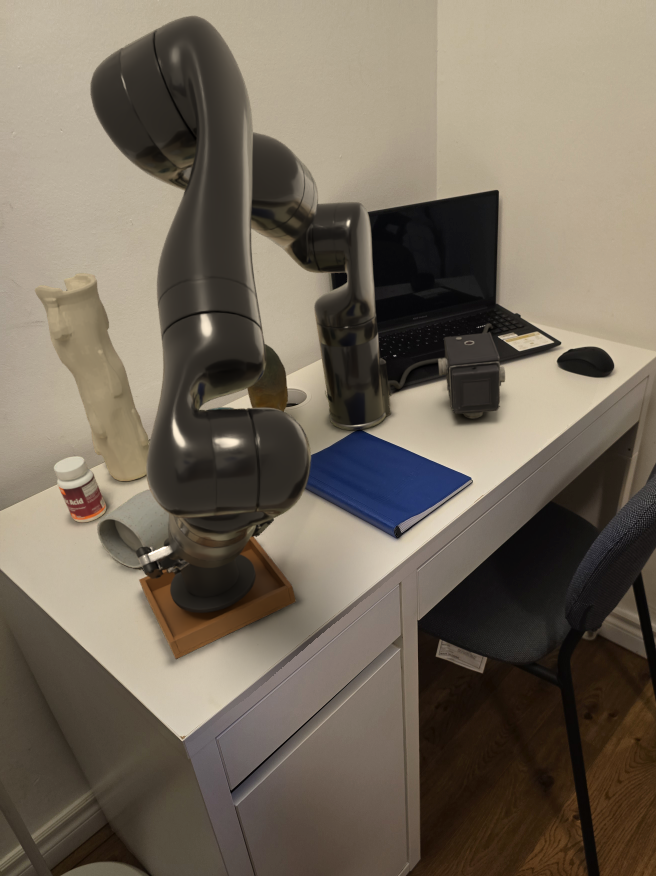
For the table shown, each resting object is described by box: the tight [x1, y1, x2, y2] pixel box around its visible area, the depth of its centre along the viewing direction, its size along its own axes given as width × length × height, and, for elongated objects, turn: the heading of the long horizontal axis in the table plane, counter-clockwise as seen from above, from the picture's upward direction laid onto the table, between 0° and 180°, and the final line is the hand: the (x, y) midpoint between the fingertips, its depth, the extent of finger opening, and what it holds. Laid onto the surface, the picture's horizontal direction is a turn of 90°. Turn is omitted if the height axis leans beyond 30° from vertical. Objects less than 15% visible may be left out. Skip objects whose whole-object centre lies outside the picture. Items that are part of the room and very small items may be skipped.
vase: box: [34, 272, 150, 482], centre depth 94 cm, size 9×8×30 cm
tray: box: [138, 536, 297, 660], centre depth 76 cm, size 14×12×2 cm
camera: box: [437, 331, 506, 419], centre depth 105 cm, size 11×11×15 cm
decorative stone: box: [246, 343, 289, 412], centre depth 104 cm, size 10×6×15 cm, turn 166°
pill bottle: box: [53, 455, 107, 523], centre depth 91 cm, size 5×5×8 cm
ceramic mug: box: [96, 488, 169, 569], centre depth 84 cm, size 11×8×8 cm
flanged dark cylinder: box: [170, 554, 256, 613], centre depth 73 cm, size 10×10×9 cm
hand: (201, 553), depth 74 cm, fingers closed on flanged dark cylinder, 6 cm apart
